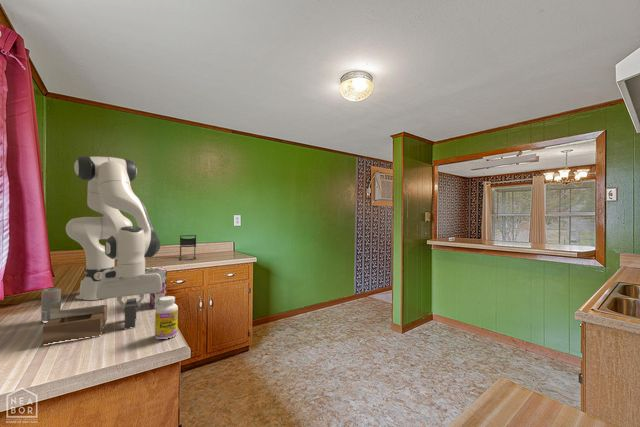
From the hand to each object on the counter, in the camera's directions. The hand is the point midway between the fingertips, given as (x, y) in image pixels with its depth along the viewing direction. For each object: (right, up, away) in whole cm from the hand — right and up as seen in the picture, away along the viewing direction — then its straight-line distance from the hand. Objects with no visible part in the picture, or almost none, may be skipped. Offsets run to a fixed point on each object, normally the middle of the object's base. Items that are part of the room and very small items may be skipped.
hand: (130, 307), depth 104 cm
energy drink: (-31, -6, +2) cm, 32 cm away
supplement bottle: (+19, -7, -10) cm, 22 cm away
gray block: (0, -6, 0) cm, 6 cm away
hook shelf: (-13, -6, -8) cm, 16 cm away
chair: (-48, -6, +146) cm, 153 cm away
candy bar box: (-2, -6, +21) cm, 22 cm away
